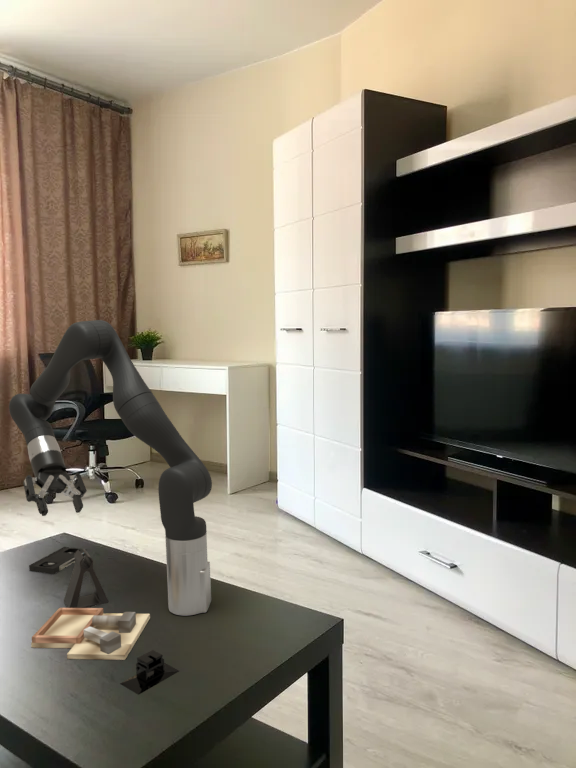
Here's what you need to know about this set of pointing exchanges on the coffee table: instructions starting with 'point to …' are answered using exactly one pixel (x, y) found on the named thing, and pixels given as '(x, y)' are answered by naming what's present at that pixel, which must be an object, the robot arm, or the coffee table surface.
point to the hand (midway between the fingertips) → (62, 512)
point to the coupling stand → (91, 633)
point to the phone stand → (76, 582)
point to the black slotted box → (149, 672)
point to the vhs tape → (55, 561)
